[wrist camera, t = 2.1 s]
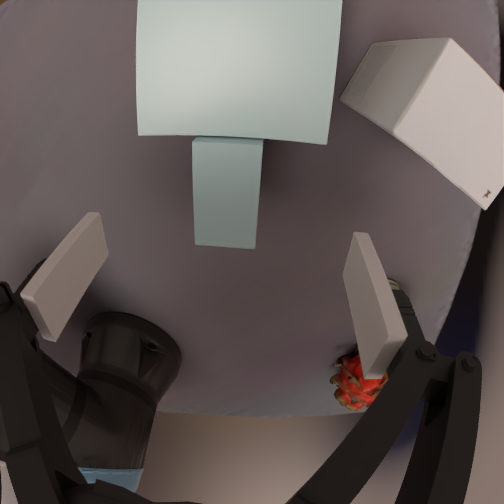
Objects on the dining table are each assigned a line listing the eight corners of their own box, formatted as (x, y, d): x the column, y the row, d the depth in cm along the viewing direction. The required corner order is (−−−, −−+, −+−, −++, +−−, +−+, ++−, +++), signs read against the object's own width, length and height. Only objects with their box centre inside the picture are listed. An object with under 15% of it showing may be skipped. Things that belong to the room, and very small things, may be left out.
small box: (442, 93, 22) (538, 133, 11) (408, 146, 25) (486, 215, 14) (370, 39, 20) (451, 34, 9) (335, 99, 24) (389, 136, 13)
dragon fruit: (341, 373, 47) (359, 316, 42) (387, 394, 43) (413, 338, 37) (315, 407, 41) (332, 350, 36) (365, 432, 37) (395, 378, 31)
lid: (305, 215, 25) (312, 253, 21) (163, 205, 26) (142, 240, 21) (333, -72, 12) (349, -101, 7) (168, -75, 12) (143, -101, 8)
